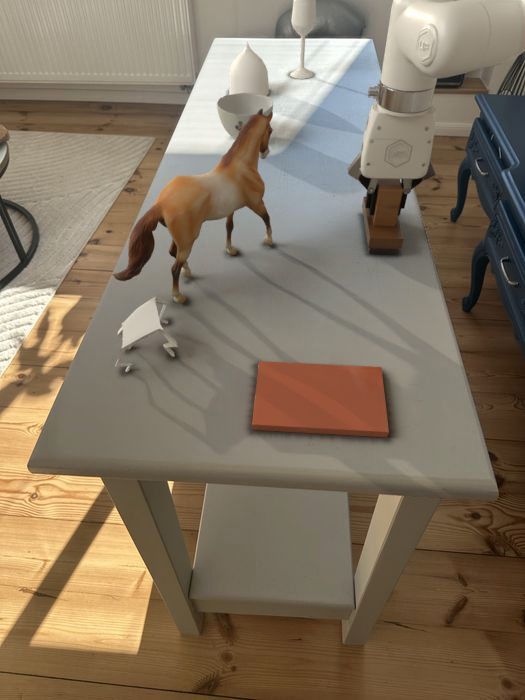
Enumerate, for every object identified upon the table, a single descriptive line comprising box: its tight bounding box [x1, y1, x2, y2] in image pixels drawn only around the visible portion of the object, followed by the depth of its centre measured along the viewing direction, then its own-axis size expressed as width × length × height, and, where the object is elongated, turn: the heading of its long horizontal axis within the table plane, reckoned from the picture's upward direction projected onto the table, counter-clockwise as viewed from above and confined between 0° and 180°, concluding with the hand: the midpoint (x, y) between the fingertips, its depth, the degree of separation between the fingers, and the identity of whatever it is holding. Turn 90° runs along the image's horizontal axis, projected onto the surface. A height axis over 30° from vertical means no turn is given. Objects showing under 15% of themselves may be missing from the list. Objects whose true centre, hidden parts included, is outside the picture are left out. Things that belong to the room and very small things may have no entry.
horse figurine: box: [111, 109, 274, 305], centre depth 71 cm, size 31×8×21 cm, turn 134°
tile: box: [251, 360, 390, 438], centre depth 60 cm, size 16×10×1 cm, turn 86°
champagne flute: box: [289, 0, 317, 80], centre depth 131 cm, size 7×7×24 cm
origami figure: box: [114, 296, 179, 373], centre depth 66 cm, size 12×8×5 cm
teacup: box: [216, 92, 274, 141], centre depth 110 cm, size 15×12×8 cm
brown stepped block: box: [361, 179, 404, 256], centre depth 81 cm, size 13×5×10 cm, turn 177°
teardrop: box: [228, 41, 270, 97], centre depth 127 cm, size 11×11×12 cm
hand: (383, 210), depth 82 cm, fingers closed on brown stepped block, 3 cm apart
